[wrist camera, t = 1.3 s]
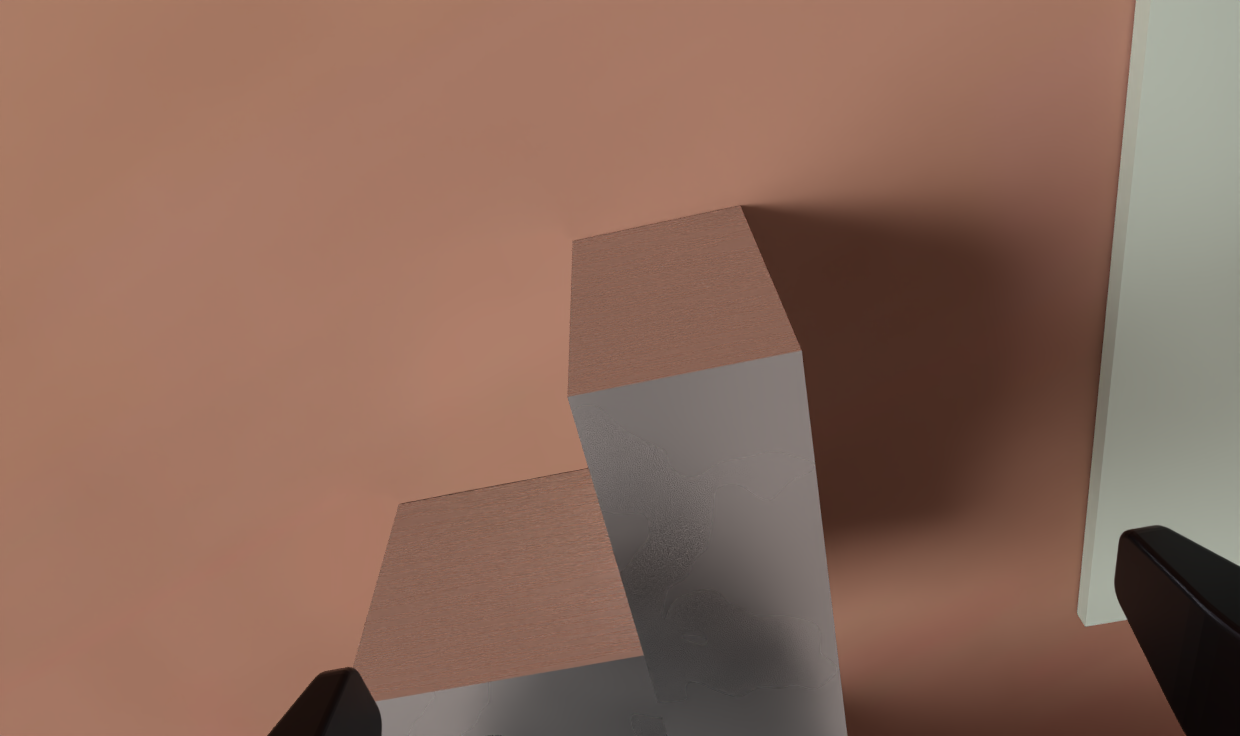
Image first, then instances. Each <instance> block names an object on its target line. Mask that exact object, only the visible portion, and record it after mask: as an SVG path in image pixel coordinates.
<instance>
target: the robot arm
mask: <svg viewBox="0 0 1240 736" xmlns="http://www.w3.org/2000/svg"><path fill="white" fill-rule="evenodd" d="M1114 588H1115V593H1116V596H1117V599H1118V602H1119V604H1120V606H1121V608H1122V610H1123V612H1124V614H1125V616H1126V618H1127V620H1128V622H1129V624H1130V626H1131V628H1132V630H1133V632H1134V634H1135V636H1136V638H1137V640H1138V642H1139V644H1140V646H1141V648H1142V650H1143V652H1144V654H1145V656H1146V658H1147V660H1148V662H1149V665H1150V667H1151V669H1152V671H1153V673H1154V675H1155V677H1156V679H1157V681H1158V683H1159V685H1160V687H1161V689H1162V691H1163V693H1164V695H1165V697H1166V699H1167V701H1168V703H1169V705H1170V707H1171V709H1172V711H1173V712H1174V714H1175V716H1176V718H1177V720H1178V722H1179V724H1180V726H1181V728H1182V729H1183V731H1184V733H1185V734H1186V736H1240V566H1239V565H1237V564H1235V563H1233V562H1231V561H1229V560H1227V559H1226V558H1224V557H1222V556H1220V555H1218V554H1216V553H1214V552H1213V551H1211V550H1209V549H1207V548H1205V547H1203V546H1201V545H1200V544H1198V543H1196V542H1194V541H1192V540H1190V539H1188V538H1186V537H1185V536H1183V535H1181V534H1179V533H1177V532H1175V531H1173V530H1172V529H1170V528H1167V527H1165V526H1161V525H1152V526H1146V527H1140V528H1135V529H1129V530H1126V531H1124V532H1123V533H1122V534H1121V536H1120V538H1119V543H1118V552H1117V560H1116V568H1115V576H1114ZM267 736H382V719H381V714H380V710H379V708H378V706H377V704H376V702H375V700H374V698H373V697H372V695H371V693H370V691H369V690H368V688H367V686H366V684H365V682H364V681H363V679H362V677H361V675H360V674H359V672H358V671H357V670H356V669H354V668H352V667H346V668H340V669H335V670H329V671H324V672H322V673H320V674H319V675H318V676H316V677H315V679H314V680H313V681H312V682H311V683H310V684H309V686H308V687H307V688H306V689H305V691H304V692H303V693H302V694H301V695H300V697H299V698H298V699H297V700H296V701H295V703H294V704H293V705H292V706H291V707H290V709H289V710H288V711H287V712H286V714H285V715H284V716H283V717H282V718H281V720H280V721H279V722H278V723H277V724H276V726H275V727H274V728H273V729H272V731H271V732H270V733H269V734H268V735H267Z"/></svg>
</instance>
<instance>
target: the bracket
mask: <svg viewBox="0 0 1240 736" xmlns="http://www.w3.org/2000/svg"><path fill="white" fill-rule="evenodd" d="M568 400H569V404H570V407H571V410H572V414H573V417H574V421H575V424H576V427H577V431H578V434H579V438H580V441H581V444H582V448H583V451H584V454H585V458H586V461H587V465H588V469H582V470H577V471H572V472H567V473H561V474H556V475H551V476H546V477H541V478H535V479H530V480H525V481H520V482H514V483H509V484H504V485H499V486H493V487H488V488H483V489H478V490H472V491H467V492H462V493H457V494H452V495H446V496H441V497H436V498H431V499H425V500H420V501H415V502H410V503H404V504H399V505H398V508H397V512H396V516H395V519H394V523H393V526H392V530H391V533H390V537H389V540H388V544H387V548H386V551H385V555H384V558H383V562H382V565H381V569H380V572H379V576H378V580H377V583H376V587H375V590H374V594H373V597H372V601H371V604H370V608H369V612H368V615H367V619H366V622H365V626H364V629H363V633H362V636H361V640H360V643H359V647H358V651H357V654H356V658H355V661H354V665H353V668H354V669H356V670H357V671H358V672H359V674H360V675H361V677H362V679H363V681H364V682H365V684H366V686H367V688H368V690H369V691H370V693H371V695H372V697H373V698H374V700H375V702H376V704H377V706H378V708H379V710H380V714H381V719H382V736H847V729H846V720H845V712H844V703H843V695H842V686H841V678H840V669H839V661H838V653H837V644H836V636H835V627H834V619H833V610H832V602H831V594H830V585H829V577H828V568H827V560H826V551H825V543H824V534H823V526H822V518H821V509H820V501H819V492H818V484H817V475H816V467H815V458H814V450H813V442H812V433H811V425H810V416H809V408H808V399H807V391H806V383H805V374H804V366H803V357H802V350H801V348H800V345H799V343H798V341H797V338H796V336H795V334H794V331H793V329H792V326H791V324H790V322H789V319H788V317H787V315H786V312H785V310H784V308H783V305H782V303H781V301H780V298H779V296H778V293H777V291H776V289H775V286H774V284H773V282H772V279H771V277H770V275H769V272H768V270H767V268H766V265H765V263H764V260H763V258H762V256H761V253H760V251H759V249H758V246H757V244H756V242H755V239H754V237H753V235H752V232H751V230H750V227H749V225H748V223H747V220H746V218H745V216H744V213H743V211H742V209H741V206H736V207H731V208H727V209H722V210H717V211H713V212H708V213H703V214H699V215H694V216H689V217H684V218H680V219H675V220H670V221H666V222H661V223H656V224H652V225H647V226H642V227H638V228H633V229H628V230H623V231H619V232H614V233H609V234H605V235H600V236H595V237H591V238H586V239H581V240H577V241H573V243H572V274H571V305H570V336H569V367H568Z"/></svg>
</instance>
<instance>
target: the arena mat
mask: <svg viewBox="0 0 1240 736" xmlns="http://www.w3.org/2000/svg"><path fill="white" fill-rule="evenodd" d="M1152 525H1161V526H1165V527H1167V528H1170V529H1172V530H1173V531H1175V532H1177V533H1179V534H1181V535H1183V536H1185V537H1186V538H1188V539H1190V540H1192V541H1194V542H1196V543H1198V544H1200V545H1201V546H1203V547H1205V548H1207V549H1209V550H1211V551H1213V552H1214V553H1216V554H1218V555H1220V556H1222V557H1224V558H1226V559H1227V560H1229V561H1231V562H1233V563H1235V564H1237V565H1239V566H1240V0H1136V6H1135V17H1134V27H1133V37H1132V48H1131V58H1130V69H1129V79H1128V89H1127V100H1126V110H1125V120H1124V131H1123V141H1122V152H1121V162H1120V172H1119V183H1118V193H1117V204H1116V214H1115V224H1114V235H1113V245H1112V256H1111V266H1110V276H1109V287H1108V297H1107V308H1106V318H1105V328H1104V339H1103V349H1102V360H1101V370H1100V380H1099V391H1098V401H1097V412H1096V422H1095V432H1094V443H1093V453H1092V464H1091V474H1090V484H1089V495H1088V505H1087V516H1086V526H1085V536H1084V547H1083V557H1082V568H1081V578H1080V588H1079V599H1078V609H1077V614H1078V616H1079V618H1080V619H1081V621H1082V622H1083V624H1084V625H1085V627H1086V626H1092V625H1098V624H1104V623H1110V622H1116V621H1122V620H1127V618H1126V616H1125V614H1124V612H1123V610H1122V608H1121V606H1120V604H1119V602H1118V599H1117V596H1116V593H1115V588H1114V576H1115V568H1116V560H1117V552H1118V543H1119V538H1120V536H1121V534H1122V533H1123V532H1124V531H1126V530H1129V529H1135V528H1140V527H1146V526H1152Z"/></svg>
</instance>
